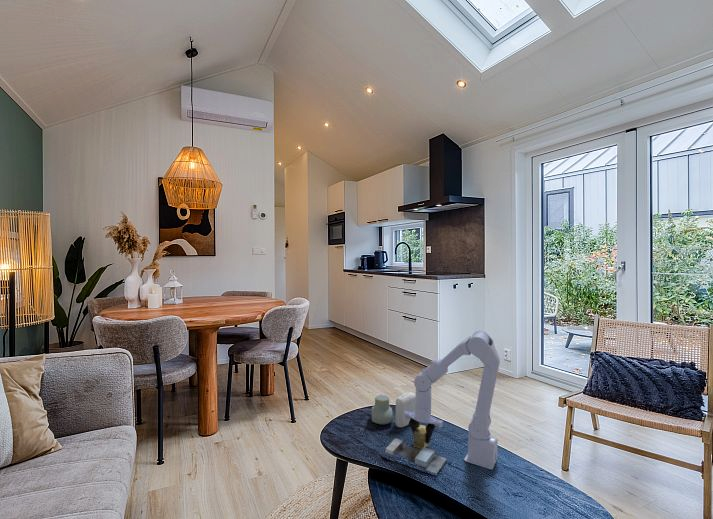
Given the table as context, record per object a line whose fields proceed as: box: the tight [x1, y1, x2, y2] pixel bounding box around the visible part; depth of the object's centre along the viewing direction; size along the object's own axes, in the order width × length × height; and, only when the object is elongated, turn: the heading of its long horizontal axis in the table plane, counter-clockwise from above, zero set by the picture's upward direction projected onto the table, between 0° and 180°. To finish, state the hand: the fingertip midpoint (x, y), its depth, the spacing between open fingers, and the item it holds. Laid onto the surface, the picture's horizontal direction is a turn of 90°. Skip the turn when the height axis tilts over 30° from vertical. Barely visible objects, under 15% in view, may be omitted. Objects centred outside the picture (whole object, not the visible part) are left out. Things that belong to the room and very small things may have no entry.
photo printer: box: [394, 391, 416, 428], centre depth 162 cm, size 10×4×12 cm, turn 134°
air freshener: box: [371, 394, 394, 425], centre depth 163 cm, size 11×8×10 cm
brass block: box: [413, 424, 431, 450], centre depth 146 cm, size 4×6×6 cm, turn 149°
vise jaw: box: [415, 447, 436, 468], centre depth 135 cm, size 4×8×2 cm, turn 149°
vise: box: [384, 437, 448, 474], centre depth 137 cm, size 20×10×3 cm, turn 59°
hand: (422, 440), depth 146 cm, fingers closed on brass block, 4 cm apart
